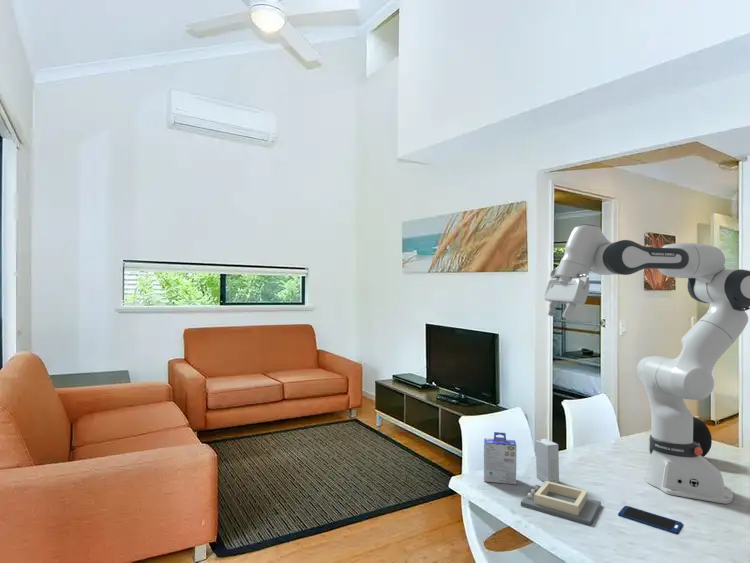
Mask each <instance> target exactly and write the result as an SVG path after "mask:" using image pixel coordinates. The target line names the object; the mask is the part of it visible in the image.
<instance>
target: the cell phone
mask: <svg viewBox="0 0 750 563" xmlns="http://www.w3.org/2000/svg"><path fill="white" fill-rule="evenodd" d="M617 515H618V517H621V518H623V519H627V520H630V521H633V522H636V523H639V524H642V525H646V526H648V527H652V528H655V529H658V530H661V531H664V532H668V533H670V534H675V535H679V533H680V531H681V530H682V528H683V525H684V524H683V522H682V521H679V520H675V519H672V518H669V517H666V516H662V515H658V514H656V513H653V512H649V511H647V510H642V509H639V508H635V507H634V506H630V505H624V506H623V507H622V508H621V509H620V511H619V512H618V513H617Z"/></svg>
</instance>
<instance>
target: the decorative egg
mask: <svg viewBox="0 0 750 563" xmlns="http://www.w3.org/2000/svg"><path fill="white" fill-rule="evenodd" d="M693 441H694V442H696V443H697V444H698V443H699V444H700V446H701V449H702V451H703V453H702V454H701V456H702V457H704V458H705V456H707V454H708V453H709V452H710V450H711V448H712V443H713V438H712V434H711V430H710V429H709V427H708V426H707V424H706V423H705V422H703V420H702V419H700V418H697V417H696V416H693Z"/></svg>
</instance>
